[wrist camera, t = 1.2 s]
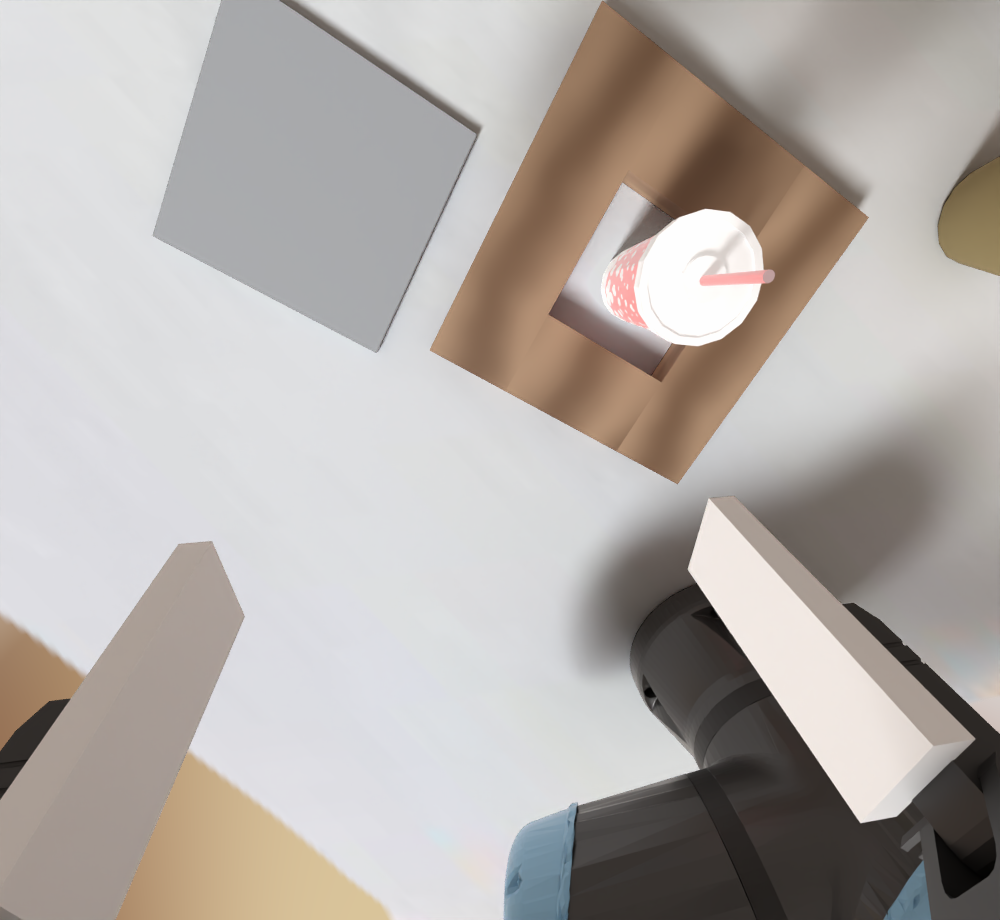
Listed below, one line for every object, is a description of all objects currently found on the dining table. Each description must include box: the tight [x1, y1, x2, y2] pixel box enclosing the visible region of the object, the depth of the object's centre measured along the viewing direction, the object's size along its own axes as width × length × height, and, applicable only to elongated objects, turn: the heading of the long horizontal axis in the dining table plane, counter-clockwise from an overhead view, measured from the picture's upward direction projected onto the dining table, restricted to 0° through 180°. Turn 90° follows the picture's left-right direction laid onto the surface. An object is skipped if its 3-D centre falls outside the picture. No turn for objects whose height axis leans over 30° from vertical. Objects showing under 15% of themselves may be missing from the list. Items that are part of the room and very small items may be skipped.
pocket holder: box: [430, 1, 869, 484], centre depth 29 cm, size 20×20×2 cm
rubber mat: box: [153, 0, 477, 353], centre depth 26 cm, size 14×14×1 cm
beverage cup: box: [601, 209, 775, 346], centre depth 23 cm, size 6×6×14 cm
